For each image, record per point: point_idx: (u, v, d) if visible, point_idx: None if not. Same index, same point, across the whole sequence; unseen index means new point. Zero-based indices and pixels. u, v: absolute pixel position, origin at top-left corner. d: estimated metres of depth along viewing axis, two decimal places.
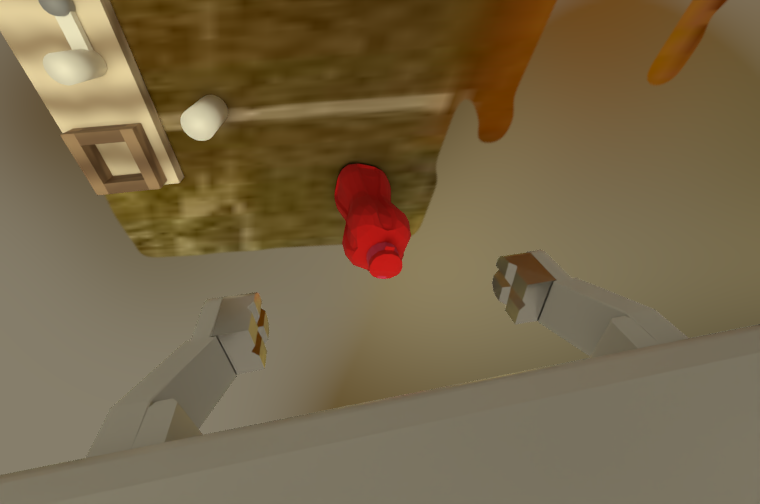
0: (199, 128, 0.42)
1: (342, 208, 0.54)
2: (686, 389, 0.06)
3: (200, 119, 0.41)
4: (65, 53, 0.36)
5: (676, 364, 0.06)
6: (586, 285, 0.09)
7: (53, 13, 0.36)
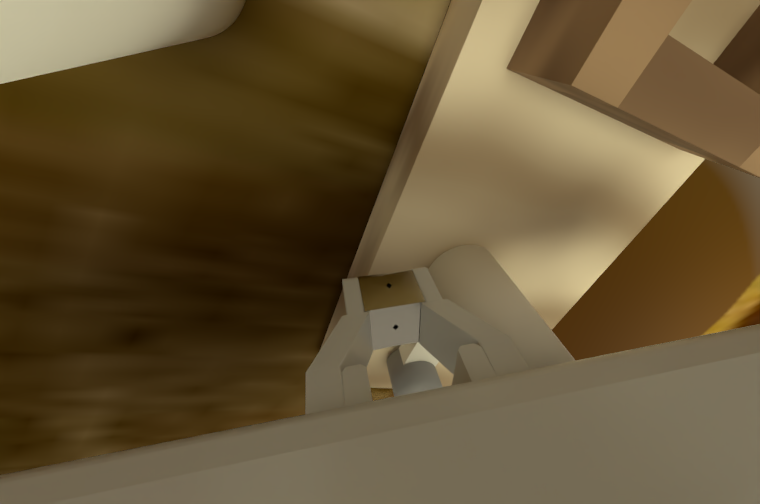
0: None
1: None
2: (686, 389, 0.06)
3: None
4: None
5: (676, 364, 0.06)
6: (452, 307, 0.09)
7: (433, 382, 0.15)
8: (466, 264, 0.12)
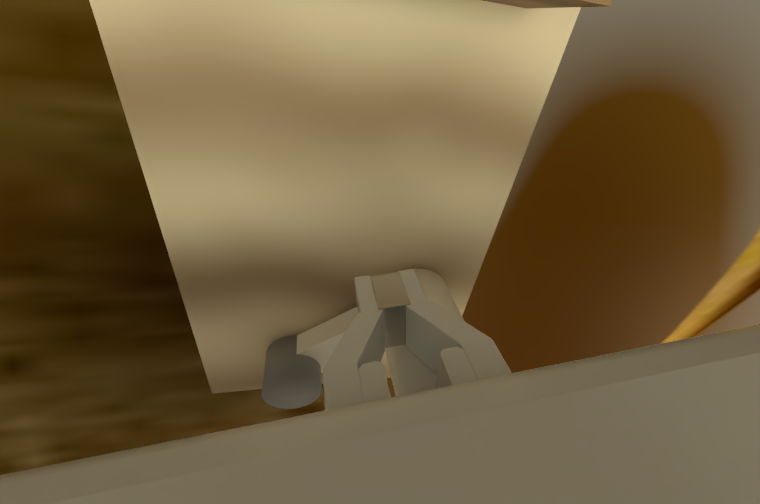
0: None
1: None
2: (686, 389, 0.06)
3: None
4: None
5: (676, 364, 0.06)
6: (437, 310, 0.09)
7: (316, 387, 0.13)
8: (438, 289, 0.12)
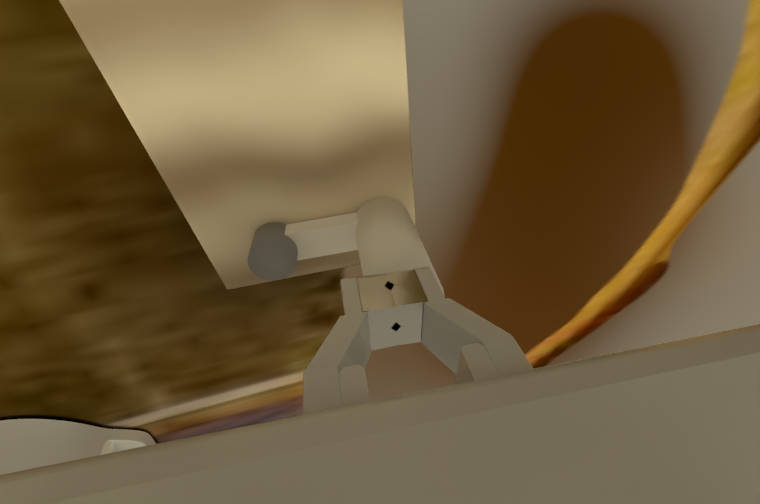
0: None
1: None
2: (686, 389, 0.06)
3: None
4: None
5: (676, 364, 0.06)
6: (455, 307, 0.09)
7: (292, 264, 0.17)
8: (407, 214, 0.17)
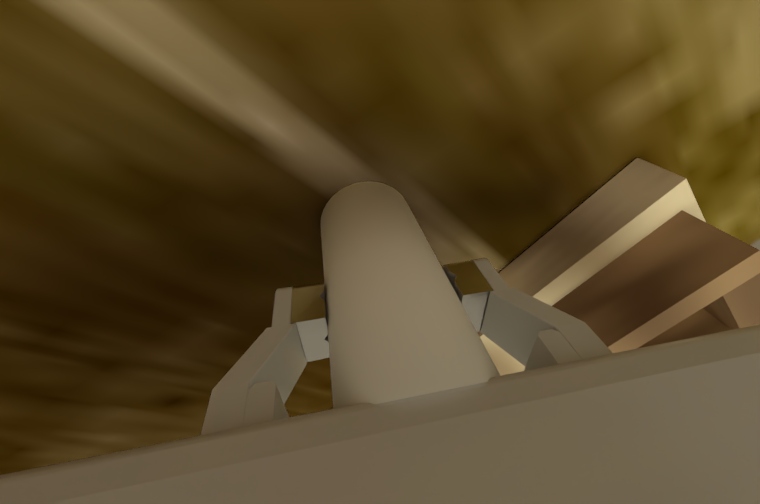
0: None
1: None
2: (686, 389, 0.06)
3: None
4: None
5: (676, 364, 0.06)
6: (522, 296, 0.09)
7: None
8: None
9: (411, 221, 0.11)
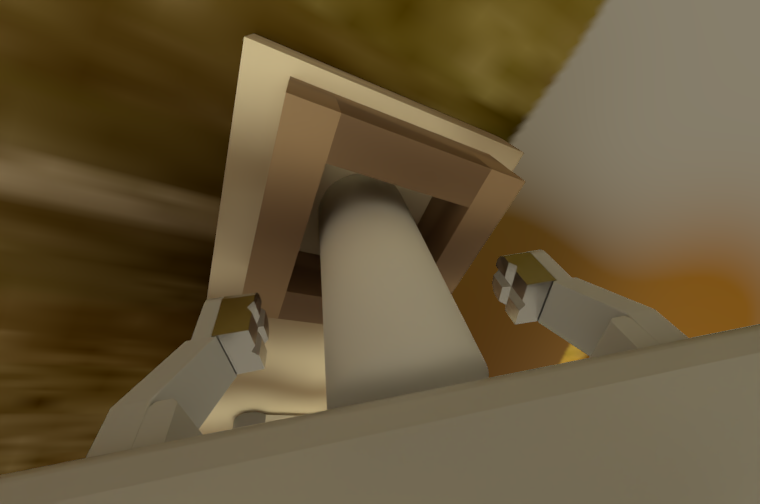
0: (418, 387, 0.08)
1: None
2: (686, 389, 0.06)
3: None
4: None
5: (676, 364, 0.06)
6: (586, 285, 0.09)
7: None
8: None
9: (402, 210, 0.12)
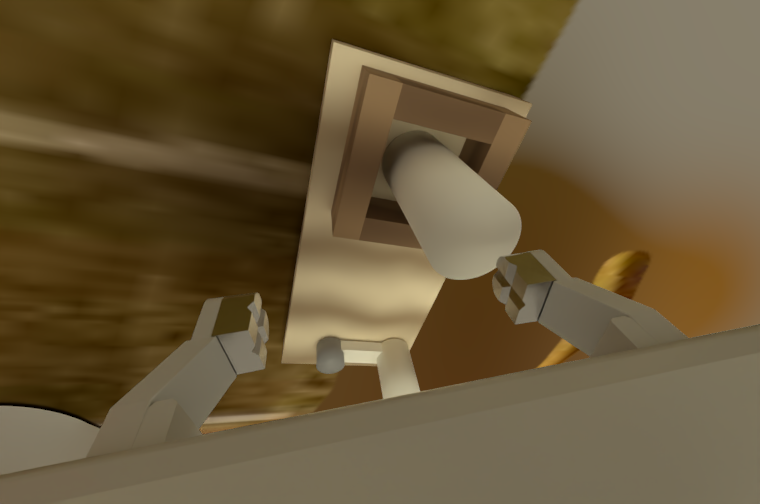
0: (480, 233, 0.13)
1: None
2: (686, 389, 0.06)
3: (455, 248, 0.13)
4: None
5: (676, 364, 0.06)
6: (586, 285, 0.09)
7: (340, 367, 0.28)
8: (409, 354, 0.30)
9: None
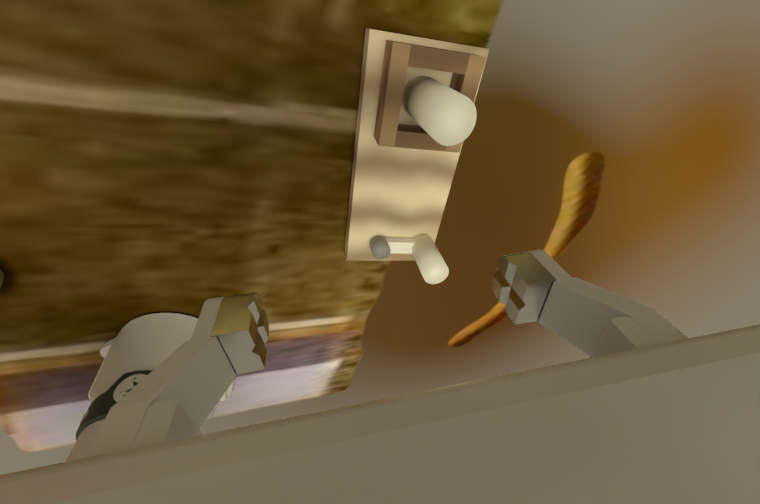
0: (455, 116, 0.26)
1: None
2: (686, 389, 0.06)
3: (443, 125, 0.26)
4: (424, 264, 0.39)
5: (676, 364, 0.06)
6: (586, 285, 0.09)
7: (388, 254, 0.41)
8: None
9: None
